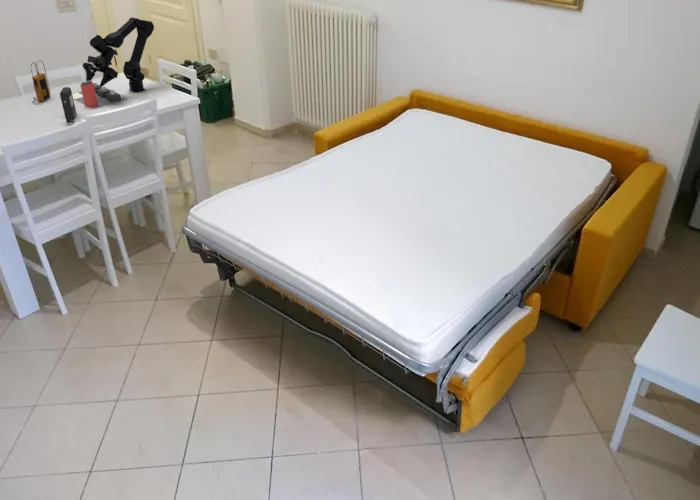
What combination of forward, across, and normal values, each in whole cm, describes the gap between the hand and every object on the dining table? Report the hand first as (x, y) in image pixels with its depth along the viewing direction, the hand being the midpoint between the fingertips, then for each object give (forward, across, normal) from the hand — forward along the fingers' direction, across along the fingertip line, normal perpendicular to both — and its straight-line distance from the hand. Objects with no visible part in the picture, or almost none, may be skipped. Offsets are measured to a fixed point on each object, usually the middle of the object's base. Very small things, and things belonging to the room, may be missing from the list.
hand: (93, 84), depth 297 cm
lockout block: (+10, 0, +4) cm, 10 cm away
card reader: (+23, +4, -6) cm, 24 cm away
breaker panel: (+4, -7, +11) cm, 14 cm away
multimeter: (+14, -33, +2) cm, 36 cm away
